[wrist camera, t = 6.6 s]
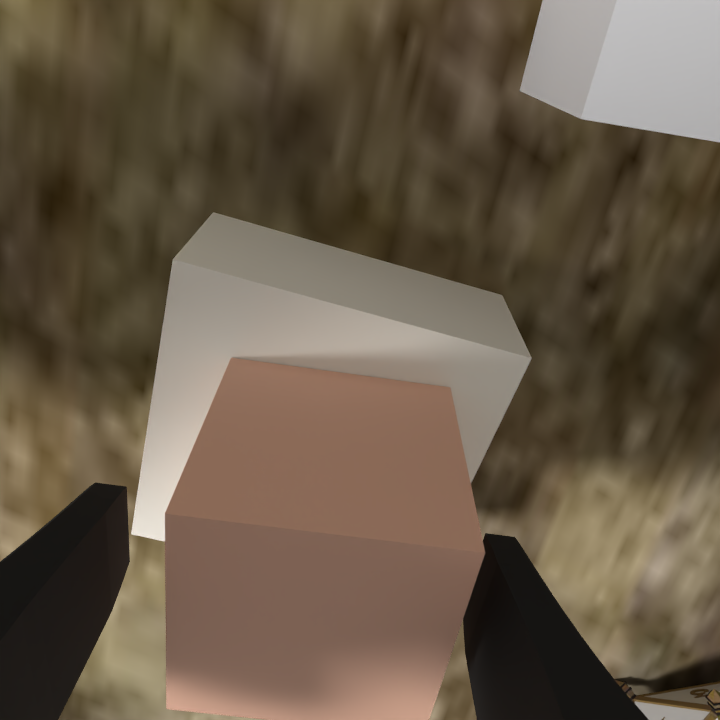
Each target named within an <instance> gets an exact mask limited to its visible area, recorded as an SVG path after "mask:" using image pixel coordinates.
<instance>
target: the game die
mask: <svg viewBox="0 0 720 720" xmlns="http://www.w3.org/2000/svg"><path fill="white" fill-rule="evenodd" d="M615 681H616V682H617V683H618V685H619V686H620V687H621V688H622V689H623V691H624V692H625V693H626V694H627V695H628V697H629V698H630V699H631V700H632V701H633V702H634V703H635V705H636V706H637V707H638V708H639V709H640V710H641V711H642V712H643V714H644V715H645V716H646V717H647V718H648V719H649V720H720V681H719V682H713V683H708V684H702V685H696V686H690V687H684V688H678V689H672V690H667V691H661V692H655V693H649V694H643V695H637V696H636V695H635V694H634V693H633V692H632V688H631V687H630V688H629V687H628V686H627V683H626V682H625V683H624V682H621V681H617V680H615Z"/></svg>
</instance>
